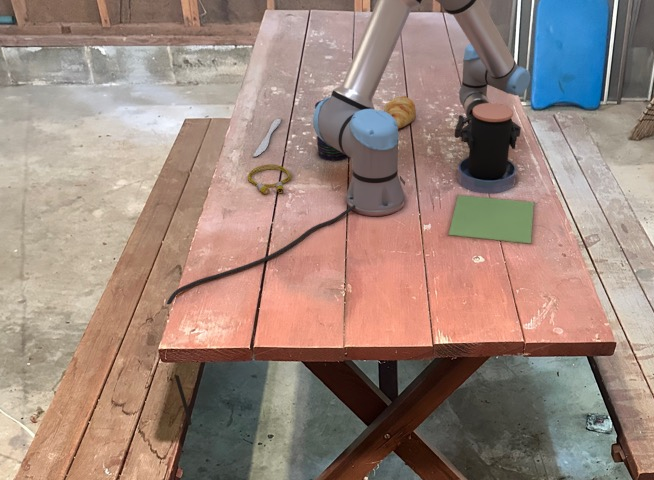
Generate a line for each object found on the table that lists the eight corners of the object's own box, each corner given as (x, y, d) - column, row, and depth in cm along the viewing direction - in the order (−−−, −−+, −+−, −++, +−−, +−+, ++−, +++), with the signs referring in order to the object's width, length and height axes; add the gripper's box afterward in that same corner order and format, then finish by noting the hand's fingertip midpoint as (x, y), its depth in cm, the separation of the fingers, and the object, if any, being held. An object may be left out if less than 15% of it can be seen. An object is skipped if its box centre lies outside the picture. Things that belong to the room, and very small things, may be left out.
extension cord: (238, 193, 189) (237, 186, 188) (256, 166, 201) (255, 160, 200) (281, 196, 187) (281, 190, 186) (297, 169, 199) (296, 163, 198)
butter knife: (284, 118, 226) (275, 117, 226) (260, 156, 205) (250, 155, 205) (284, 120, 226) (275, 119, 226) (260, 158, 205) (250, 157, 206)
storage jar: (313, 149, 210) (310, 101, 200) (345, 144, 212) (343, 96, 203) (323, 163, 202) (320, 114, 193) (355, 158, 205) (354, 109, 196)
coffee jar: (502, 163, 198) (509, 102, 187) (509, 181, 190) (516, 118, 179) (465, 164, 198) (470, 102, 187) (469, 182, 189) (475, 118, 178)
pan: (507, 197, 187) (508, 185, 185) (450, 187, 192) (450, 175, 189) (520, 171, 199) (522, 159, 196) (466, 162, 203) (467, 150, 201)
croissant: (405, 142, 221) (417, 122, 216) (377, 127, 219) (388, 106, 214) (411, 114, 237) (423, 94, 232) (385, 99, 235) (396, 79, 230)
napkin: (530, 244, 169) (530, 242, 169) (448, 235, 172) (448, 234, 172) (533, 203, 185) (533, 202, 184) (458, 195, 188) (458, 194, 188)
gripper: (517, 123, 205) (534, 156, 187) (438, 124, 203) (448, 159, 186) (520, 98, 200) (538, 130, 183) (439, 99, 199) (450, 132, 181)
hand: (492, 144), depth 184 cm, fingers closed on coffee jar, 11 cm apart
